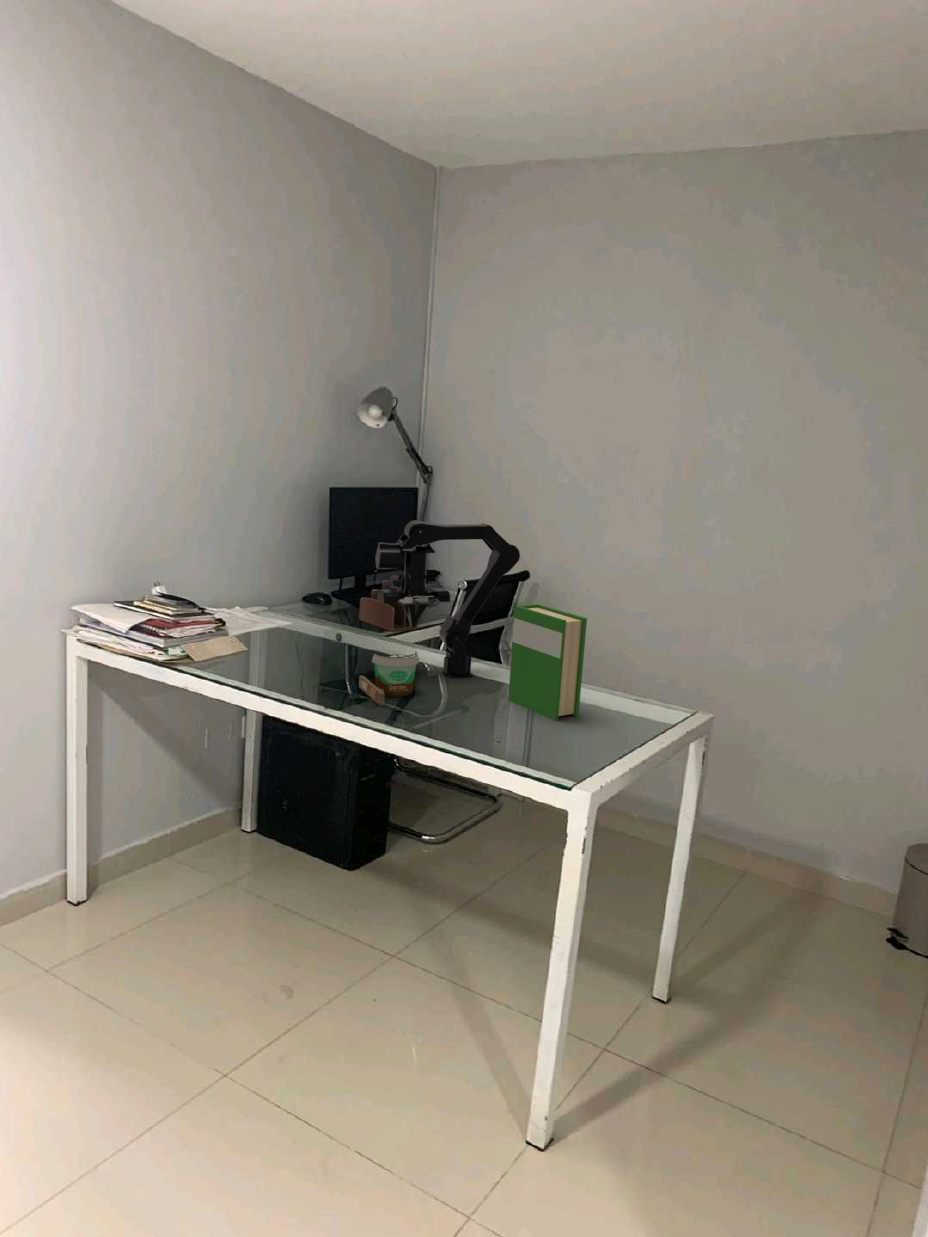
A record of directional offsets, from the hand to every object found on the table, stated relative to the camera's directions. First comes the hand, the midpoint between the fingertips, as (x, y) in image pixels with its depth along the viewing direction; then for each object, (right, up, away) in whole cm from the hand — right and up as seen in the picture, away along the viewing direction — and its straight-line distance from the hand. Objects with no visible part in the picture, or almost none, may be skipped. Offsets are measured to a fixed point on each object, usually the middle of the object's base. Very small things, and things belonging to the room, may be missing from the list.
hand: (412, 627), depth 246 cm
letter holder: (-12, 0, +62) cm, 63 cm away
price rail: (-9, -17, -18) cm, 26 cm away
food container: (-3, -17, -15) cm, 23 cm away
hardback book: (+33, -20, -20) cm, 43 cm away
